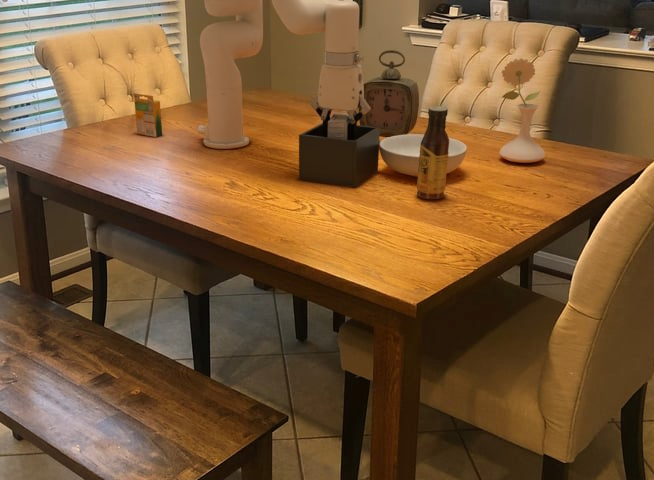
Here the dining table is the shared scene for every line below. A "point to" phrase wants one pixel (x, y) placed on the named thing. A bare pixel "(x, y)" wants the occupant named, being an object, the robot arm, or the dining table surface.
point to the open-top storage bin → (338, 156)
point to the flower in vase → (523, 144)
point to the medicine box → (338, 126)
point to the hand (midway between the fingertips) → (339, 137)
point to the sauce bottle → (433, 156)
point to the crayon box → (148, 116)
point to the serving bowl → (415, 153)
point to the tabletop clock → (391, 101)
